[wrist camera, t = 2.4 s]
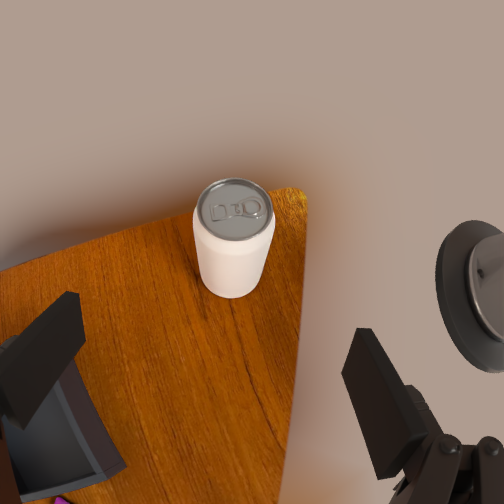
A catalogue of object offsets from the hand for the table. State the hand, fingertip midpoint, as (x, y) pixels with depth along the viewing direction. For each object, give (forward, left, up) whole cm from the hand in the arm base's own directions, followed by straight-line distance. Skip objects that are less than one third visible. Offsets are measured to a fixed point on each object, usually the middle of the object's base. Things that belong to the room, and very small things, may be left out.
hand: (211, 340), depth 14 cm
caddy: (+3, +21, -17) cm, 27 cm away
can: (+9, -6, -17) cm, 20 cm away
